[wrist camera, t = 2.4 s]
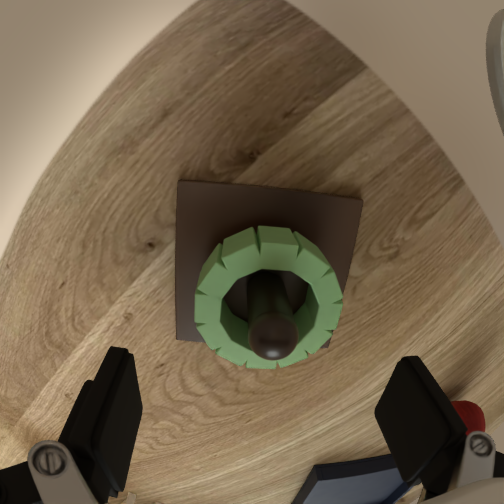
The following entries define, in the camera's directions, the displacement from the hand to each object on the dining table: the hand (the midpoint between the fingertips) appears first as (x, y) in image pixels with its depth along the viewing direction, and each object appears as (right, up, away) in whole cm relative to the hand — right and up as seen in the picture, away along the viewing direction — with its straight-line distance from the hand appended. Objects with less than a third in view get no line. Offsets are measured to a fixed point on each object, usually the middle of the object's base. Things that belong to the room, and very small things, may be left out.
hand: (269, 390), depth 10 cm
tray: (+14, -28, +21) cm, 37 cm away
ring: (0, +3, +6) cm, 7 cm away
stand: (0, +3, +8) cm, 9 cm away
